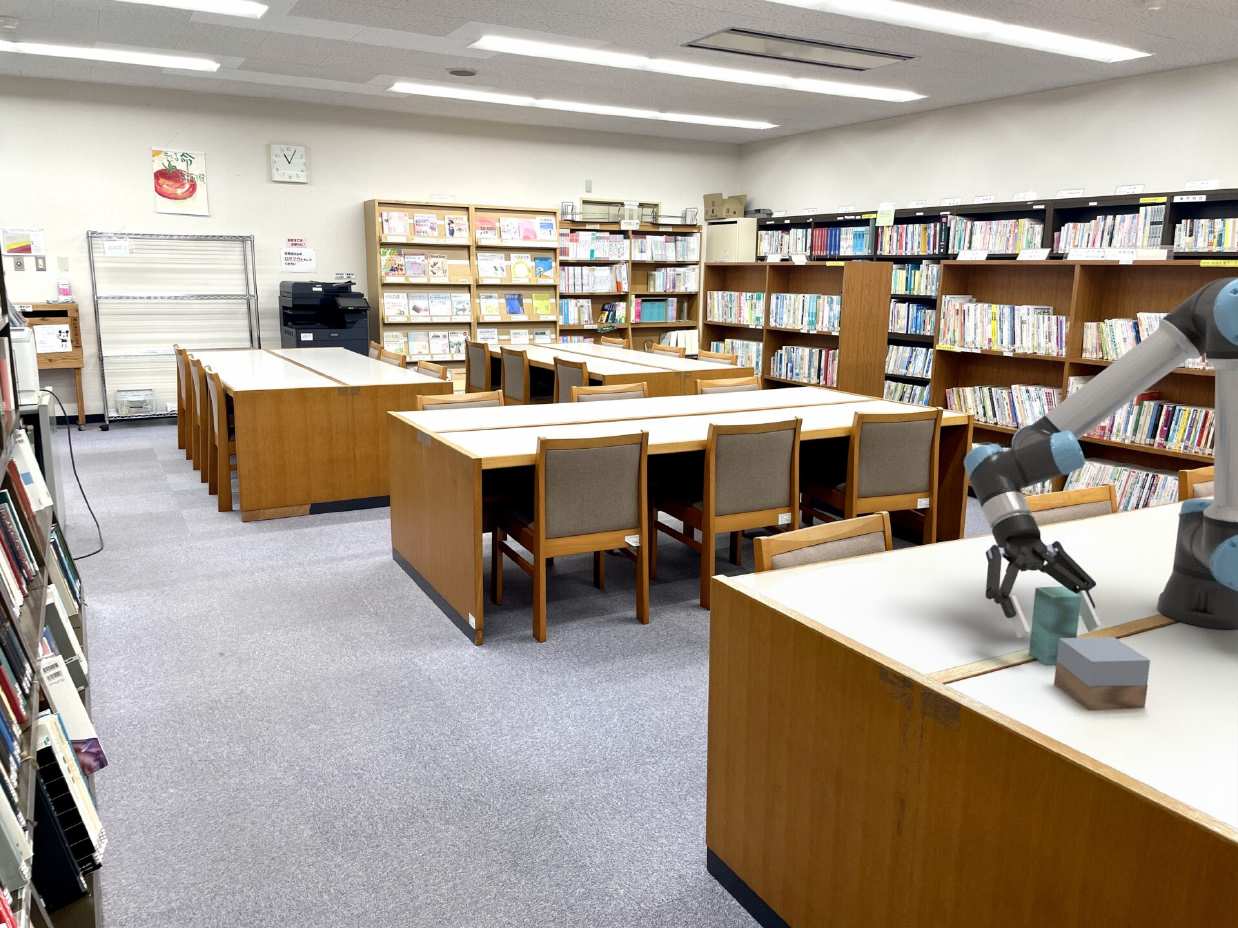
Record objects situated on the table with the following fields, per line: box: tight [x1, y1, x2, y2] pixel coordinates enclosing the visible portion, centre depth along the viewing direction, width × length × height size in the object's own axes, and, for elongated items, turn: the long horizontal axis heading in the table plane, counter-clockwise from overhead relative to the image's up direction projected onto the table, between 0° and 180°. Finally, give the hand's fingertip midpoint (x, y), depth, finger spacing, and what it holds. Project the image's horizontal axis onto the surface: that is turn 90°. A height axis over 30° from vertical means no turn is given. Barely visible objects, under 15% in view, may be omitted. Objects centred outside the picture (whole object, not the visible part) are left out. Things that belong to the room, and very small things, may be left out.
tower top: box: [1057, 636, 1151, 687], centre depth 137 cm, size 9×9×4 cm
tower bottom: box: [1053, 663, 1148, 711], centre depth 137 cm, size 9×9×4 cm
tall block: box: [1028, 585, 1081, 666], centre depth 150 cm, size 5×5×12 cm
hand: (1059, 631), depth 149 cm, fingers open, 13 cm apart
